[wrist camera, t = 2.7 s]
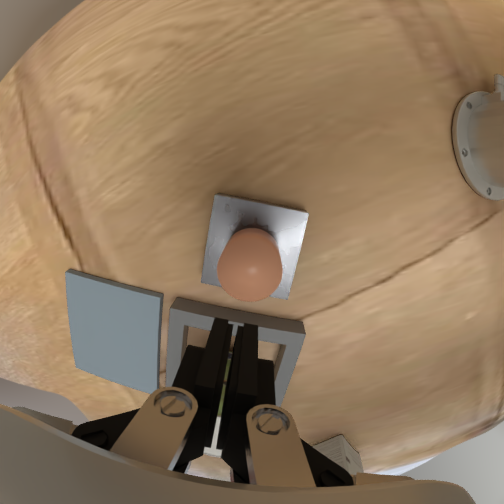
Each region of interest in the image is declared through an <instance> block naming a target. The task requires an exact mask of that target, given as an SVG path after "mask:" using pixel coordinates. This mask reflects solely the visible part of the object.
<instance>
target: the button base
mask: <svg viewBox="0 0 504 504" xmlns="http://www.w3.org/2000/svg"><path fill="white" fill-rule="evenodd" d="M308 215H309V213H308V212H307V211H306V210H302V209H297V208H292V207H288V206H283V205H278V204H273V203H269V202H264V201H259V200H254V199H249V198H243V197H238V196H233V195H228V194H222V193H217V194H215V197H214V202H213V208H212V214H211V220H210V226H209V232H208V238H207V244H206V251H205V257H204V264H203V271H202V278H201V283H205V284H209V285H214V286H219V287H222V286H221V284H220V282H219V279H218V276H217V264H218V261H219V258H220V256H221V254H222V252H223V250H224V248H225V246H226V244H227V242H228V240H229V239H230V238H231V237H232V236H233V235H234V234H235V233H236V232H238V231H240V230H243V229H246V228H257V229H261V230H263V231H265V232H267V233H269V234H270V235H271V236H272V237H273V238H274V239H275V241H276V243H277V245H278V247H279V252H280V257H281V262H282V269H283V273H282V279H281V282H280V284H279V286H278V288H277V289H276V290H275V291H274V292H273V293H272V294H271V295H270V297H275V298H280V299H286V300H288V296H289V293H290V289H291V285H292V281H293V277H294V273H295V269H296V265H297V261H298V257H299V253H300V249H301V245H302V241H303V237H304V232H305V228H306V224H307V220H308Z"/></svg>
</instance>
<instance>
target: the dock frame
mask: <svg viewBox="0 0 504 504" xmlns="http://www.w3.org/2000/svg"><path fill="white" fill-rule="evenodd" d="M215 317H217V318H222V319H227V320H229V321H228V323H229V324H234V325H233V331H232V335H233V336H236V332H237V328H238V325H239V326H243V325H244V323H248V324H254V325H258V340H260V341H265V342H271V343H277V344H281V348H280V351H279V354H278V358H277V361H276V364H275V367H274V379H275V397H276V406H278V407H280V406H281V403H282V401H283V398H284V395H285V393H286V390H287V387H288V384H289V382H290V379H291V376H292V373H293V371H294V368H295V365H296V362H297V359H298V356H299V353H300V350H301V347H302V345H303V341H304V338H305V335H306V333H305V329H304V325H303V322H300V321H294V320H288V319H283V318H277V317H271V316H266V315H260V314H255V313H250V312H245V311H239V310H234V309H229V308H225V307H220V306H215V305H210V304H205V303H201V302H196V301H192V300H187V299H183V298H179V297H177V298H176V300H175V301H174V303H173V304H172V306H171V307H170V317H169V330H168V346H167V364H166V387H172V384H173V381H174V379H175V376H176V374H177V371H178V369H179V366H180V363H181V361H182V358H183V356H184V353H185V351H186V343H187V334H188V326H191V327H195V328H200V329H204V330H209V331H211V328H212V325H213V321H214V318H215Z"/></svg>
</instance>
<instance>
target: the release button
mask: <svg viewBox="0 0 504 504" xmlns="http://www.w3.org/2000/svg"><path fill="white" fill-rule="evenodd" d="M282 273H283V269H282V262H281V257H280V252H279V247H278V245H277V243H276V241H275V239H274V238H273V237H272V236H271V235H270V234H269V233H267V232H265V231H263V230H261V229H257V228H246V229H243V230H240V231H238V232H236V233H235V234H234V235H233V236H232V237H231V238H230V239H229V240H228V242H227V244H226V246H225V248H224V250H223V252H222V254H221V256H220V258H219V261H218V264H217V276H218V279H219V282H220V284H221V286H222V287H223V289H224V290H225V291H226V292H227V293H228V294H229V295H231V296H232V297H234V298H236V299H238V300H242V301H247V302H253V301H259V300H262V299H265V298H267V297H268V296H270V295H271V294H272V293H273V292H274V291H275V290H276V289H277V288H278V286H279V284H280V282H281V279H282Z"/></svg>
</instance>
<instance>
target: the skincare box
mask: <svg viewBox="0 0 504 504" xmlns="http://www.w3.org/2000/svg"><path fill="white" fill-rule="evenodd" d="M312 447H313V448H315V449H316V450H317V451H319V452H320V453H322V454H323V455H325V456H326V457H328V458H329V459H331V460H332V461H334V462H335V463H337V464H338V465H340V466H341V467H343V468H344V469H345V470H346V471H348V472H349V473H350V474H352V475H355V473H356V472H359V473H364V472H363V467H362V462H361V458H360V454H359V453H357V452H356V451H355V450H354V449H353V448H352V447H351V446H350V444H349V443H348V442H347V441H346V439H345V438H344V436H343V435H339V436H336V437H334V438H332V439H329V440H327V441H324V442H322V443H319V444H317V445H314V446H312Z"/></svg>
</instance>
